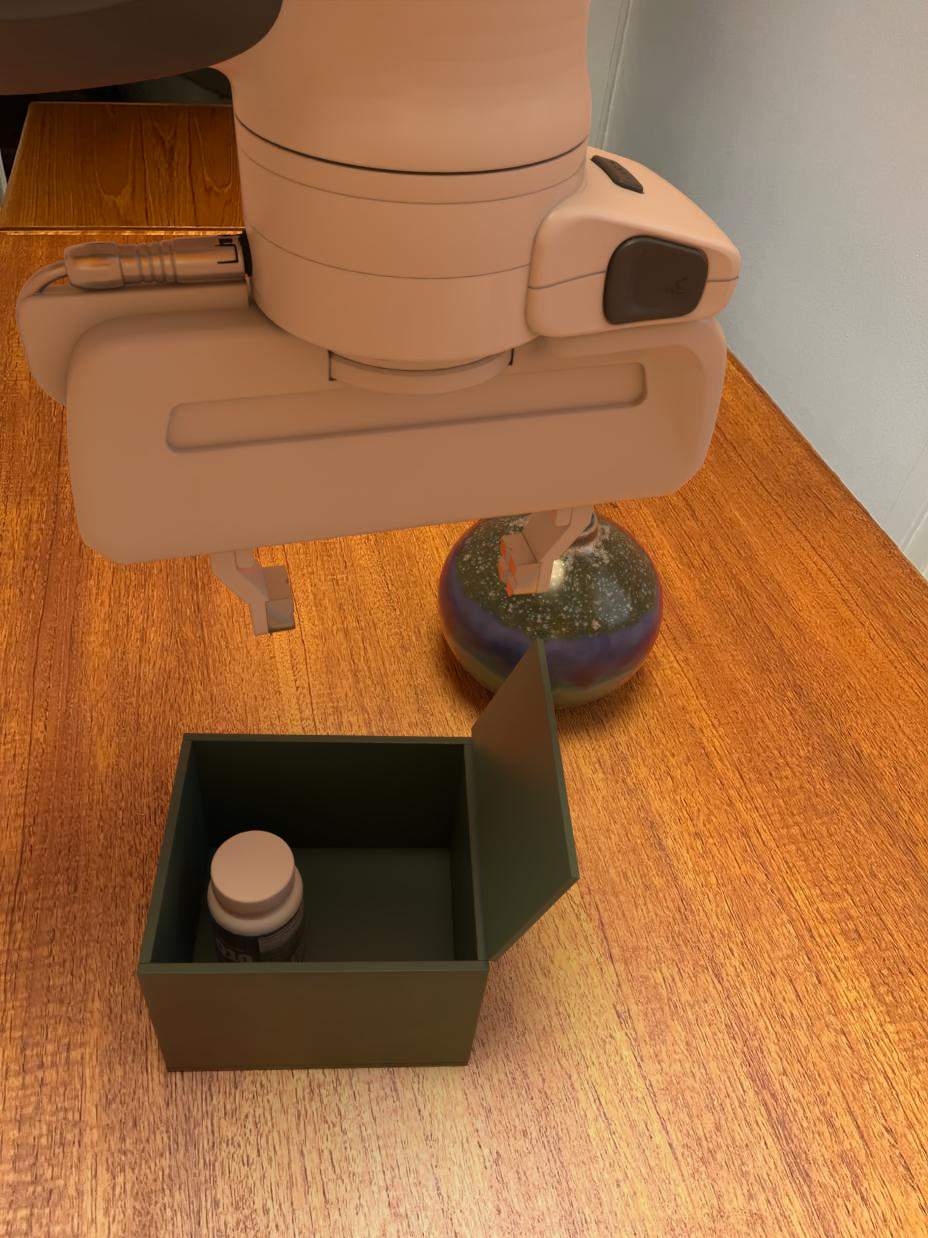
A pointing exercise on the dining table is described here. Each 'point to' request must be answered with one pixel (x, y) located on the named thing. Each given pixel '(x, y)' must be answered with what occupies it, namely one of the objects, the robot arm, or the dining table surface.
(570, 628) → the vase
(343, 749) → the open box
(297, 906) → the pill bottle
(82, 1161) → the dining table surface
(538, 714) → the dark green box lid
